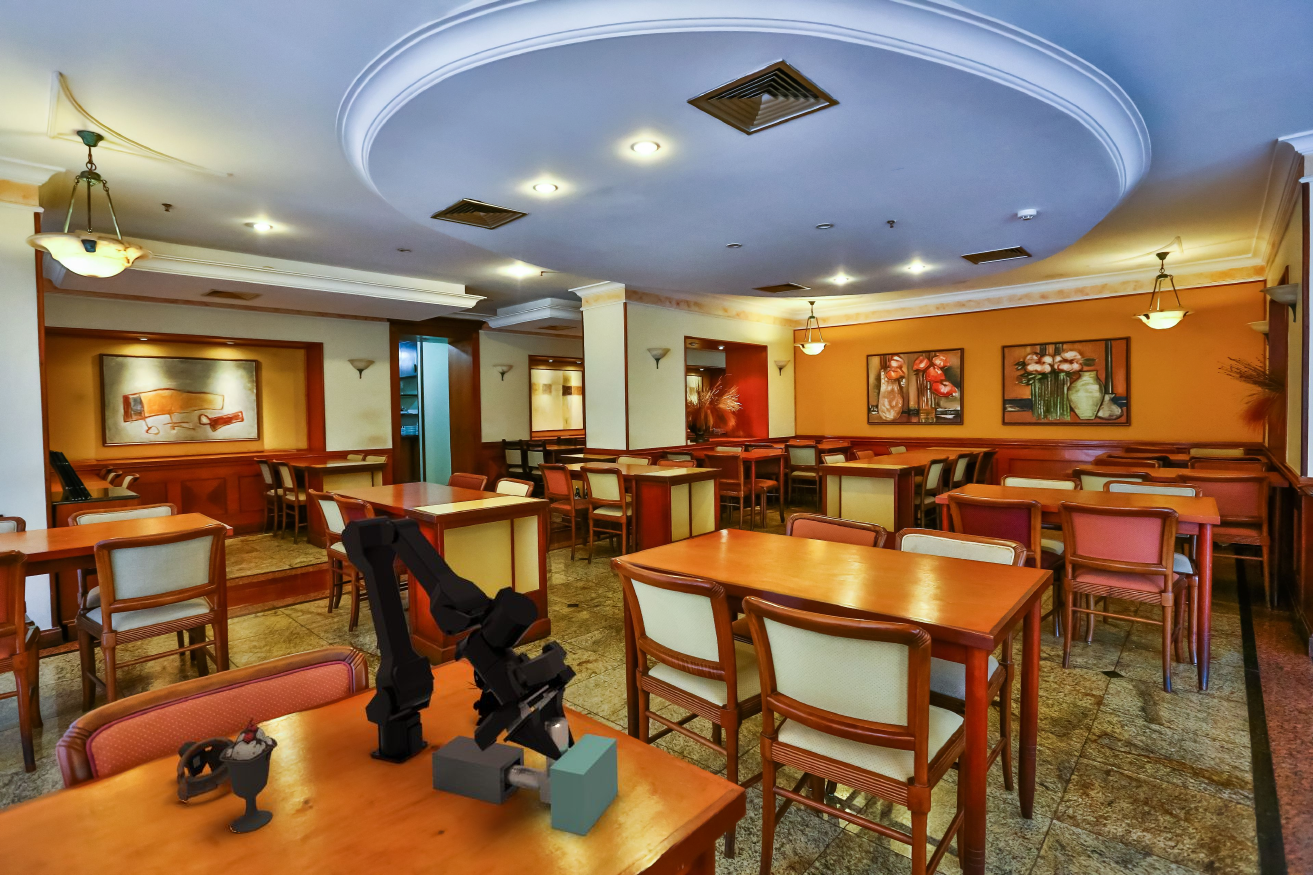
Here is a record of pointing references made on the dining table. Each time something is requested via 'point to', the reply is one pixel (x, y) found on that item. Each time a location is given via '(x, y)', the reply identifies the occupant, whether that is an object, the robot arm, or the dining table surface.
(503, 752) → the grey rectangular box
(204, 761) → the strapped goggles
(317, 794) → the dining table surface
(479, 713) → the cat figurine
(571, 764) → the teal block
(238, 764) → the sundae
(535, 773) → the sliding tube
